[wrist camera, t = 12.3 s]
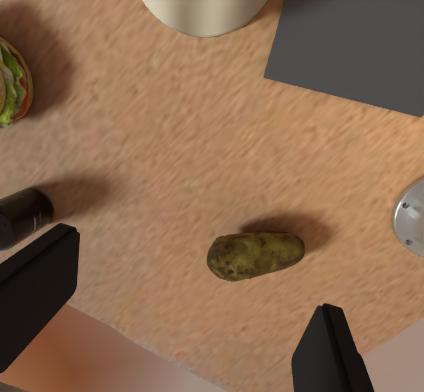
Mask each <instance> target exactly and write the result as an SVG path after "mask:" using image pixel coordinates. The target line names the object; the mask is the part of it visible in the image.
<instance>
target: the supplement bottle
mask: <svg viewBox="0 0 424 392" xmlns="http://www.w3.org/2000/svg"><path fill="white" fill-rule="evenodd" d="M52 217H53V208H52V205H51V203H50V201H49V200H48V198H47V197H46V196H45V195H44V194H42V193H41V192H39V191H37V190H33V189H24V190H21V191H19V192H16V193H14V194H12V195H9V196H7V197H4V198H2V199H0V251H5V250H8V249H10V248H12V247H13V246H15V245H16V244H18V243H20V242H21V241H23V240H24V239H26V238H27V237H29V236H30V235H32V234H34V233H35V232H37V231H38V230H40V229H41V228H43V227H44V226H46V225H47V224H48V223H49V222H50V221H51V219H52Z"/></svg>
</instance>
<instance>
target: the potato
mask: <svg viewBox="0 0 424 392" xmlns="http://www.w3.org/2000/svg"><path fill="white" fill-rule="evenodd" d="M303 257H304V243H303V241H302V240H301V239H300V238H299V237H298V236H296V235H294V234H291V233H287V232H286V233H281V234H280V233H277V232H249V233H240V234H234V235H227V236H222V237H219V238H216V240H215V241H214V242H213V244H212V246H211V247H210V249H209V251H208V255H207V264H208V267H209V269H210V270H211V271H212V272H213V273H214V274H215V275H216V276H217V277H218V278H221V279H224V280H227V281H240V280H244V279H251V278H253V277H257V276H261V275H264V274H268V273H271V272H275V271H279V270H283V269H286V268H288V267H290V266H292V265H294V264H296V263H298V262H299V261H300V260H301V259H302V258H303Z"/></svg>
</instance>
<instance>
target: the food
mask: <svg viewBox="0 0 424 392" xmlns="http://www.w3.org/2000/svg"><path fill="white" fill-rule="evenodd" d="M33 95H34V89H33V83H32V77H31V72H30V70H29V68H28V66H27V65H26V63H25V61H24V59H23V57H22V55H21V54H20V53H19V52H18V51H17V50H16V49H15V48H14V47H13V46H12V45H11V44H10V43H8V42H7V41H6V40H5V39H3V38H1V37H0V128H3V127H5V126H9V125H10V123H11V124H12V123H13V122H15V121H16V120H18V119H20V118H22V117H23V116H24V115H25V114H26V113H27V111H28V109H29V108H30V106H31V104H32V100H33Z"/></svg>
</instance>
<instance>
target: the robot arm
mask: <svg viewBox="0 0 424 392" xmlns="http://www.w3.org/2000/svg"><path fill="white" fill-rule="evenodd" d="M403 203H404V204H403ZM392 227H393V230H394V233H395V235H396V237H397V238H398V240H399V241H400V242H401V243H402V244H403V246H404V247H406V248H407V249H408V250H410V251H411V252H413V253H415V254H417V255H419V256H423V257H424V176H423V177H421V178H419V179H418V180H416V181H414V182H413V183H412V184H411V185H410V186H408V187H407V188H406V189H405V190H404V192H403V193H402V194H401V195H400V197H399V198H398V200H397V202H396V203H395V206H394V209H393V213H392ZM79 242H80V234H79V232H77V229H76V228H75V227H72V226H69V225H66V224H63V223H59V224H57V225H56V226H55V227H53V228H52V229H50V230H49V231H47V232H46V233H44V234H43V235H42V236H40V237H39V238H37V239H36V240H34V241H33V242H31V243H30V244H29V245H27V246H26V247H24V248H23V249H21V250H20V251H18V252H17V253H15V254H14V255H13V256H11V257H10V258H8V259H7V260H5V261H4V262H2V263H1V264H0V373H2V372H4V371H5V370H6V369H7V368H8V367H9V366H10V365H11V364H12V362H13V361H14V360H15V359H16V358H17V357H18V356H19V355H20V353H21V352H22V351H23V350H24V349H25V348H26V347H27V345H29V343H30V342H31V341H32V340H33V339H34V338H35V337H36V336H37V334H38V333H39V332H40V331H41V330H42V329H43V328H44V327H45V326H46V324H47V323H48V322H49V321H50V320H51V319H52V317H54V315H55V314H56V313H57V312H58V311H59V310H60V309H61V308H62V306H63V305H64V304H65V303H66V302H67V301H68V300H69V299H70V298H71V296H72V295H73V294H74V292H75V290H76V287H77V273H78V257H79ZM292 375H293V385H294V392H374V389H373V386H372V383H371V381H370V378H369V375H368V373H367V370H366V367H365V364H364V361H363V359H362V357H361V355H360V354H359V353H358V352H357V349H356V346H355V343H354V341H353V338H352V335H351V332H350V329H349V326H348V323H347V321H346V318H345V315H344V312H343V310H342V308H340V307H337V306H333V305H330V304H327V303H324V304H323V305H322V306H318V307H317V308H316V310H315V312H314V314H313V316H312V318H311V320H310V322H309V324H308V326H307V328H306V330H305V332H304V334H303V336H302V338H301V340H300V342H299V344H298V346H297V348H296V350H295V352H294V354H293V357H292ZM0 392H29V391H26V390H23V389H19V388H17V387H14V386H11V385H7V384H4V383H1V382H0Z"/></svg>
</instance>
